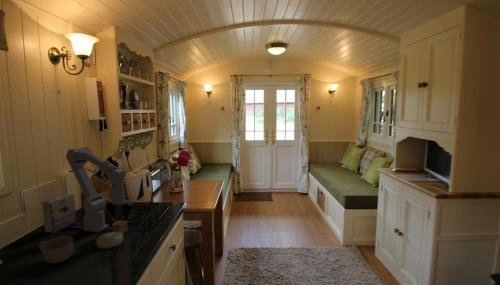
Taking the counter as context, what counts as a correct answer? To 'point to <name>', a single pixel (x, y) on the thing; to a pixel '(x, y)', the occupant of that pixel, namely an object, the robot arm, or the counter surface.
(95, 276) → the counter surface
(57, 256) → the teacup
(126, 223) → the oak cube
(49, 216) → the candy box
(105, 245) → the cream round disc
